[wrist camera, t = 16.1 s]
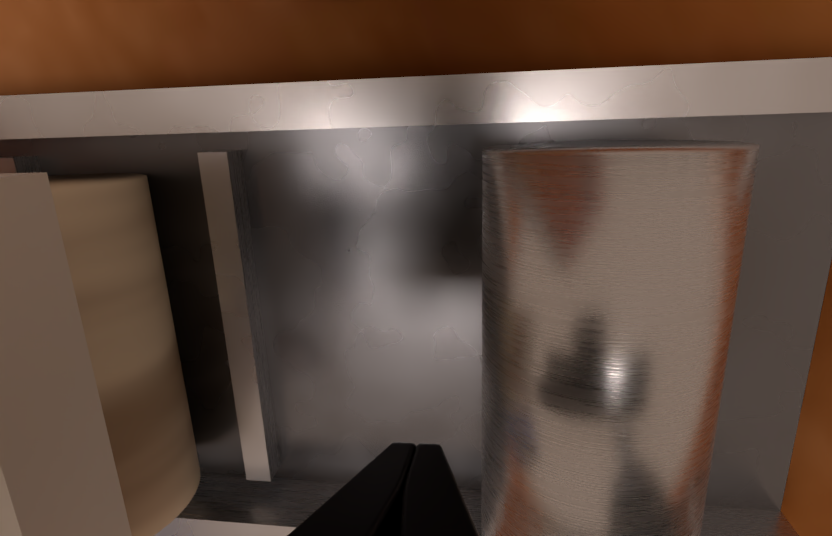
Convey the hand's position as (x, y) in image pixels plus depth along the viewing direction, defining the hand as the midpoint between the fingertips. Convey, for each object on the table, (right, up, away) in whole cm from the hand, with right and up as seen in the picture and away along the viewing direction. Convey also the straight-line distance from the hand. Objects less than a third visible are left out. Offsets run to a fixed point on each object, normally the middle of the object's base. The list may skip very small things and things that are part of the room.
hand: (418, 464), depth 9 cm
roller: (-8, +2, +7) cm, 11 cm away
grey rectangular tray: (-3, +2, +7) cm, 8 cm away
